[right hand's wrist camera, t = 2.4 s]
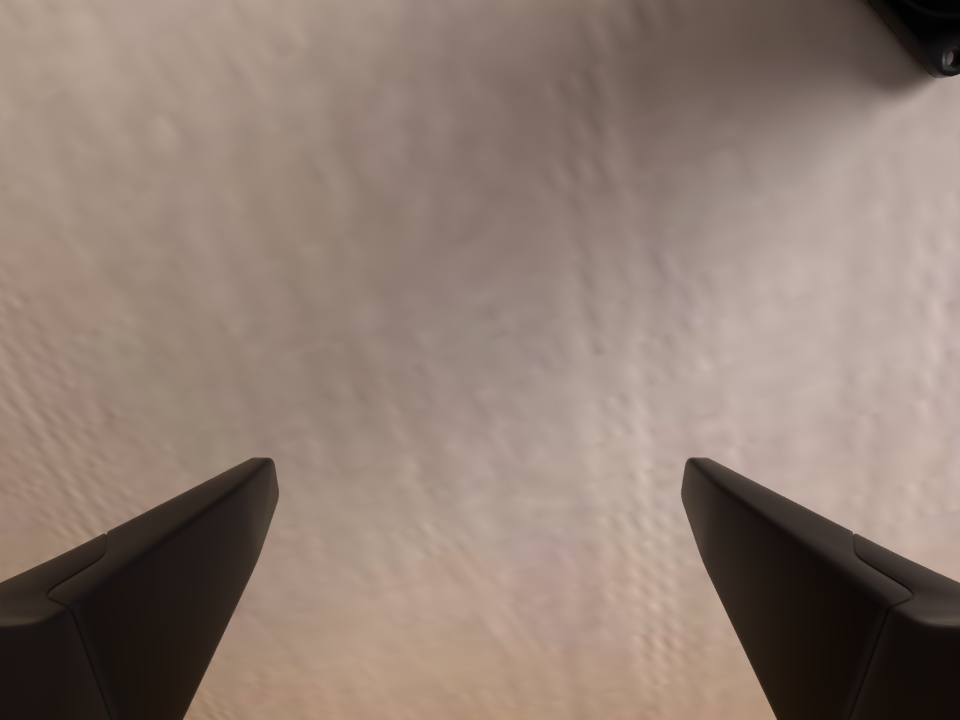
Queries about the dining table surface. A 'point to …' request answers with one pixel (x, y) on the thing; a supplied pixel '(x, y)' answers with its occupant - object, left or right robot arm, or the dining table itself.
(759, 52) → the dining table surface
